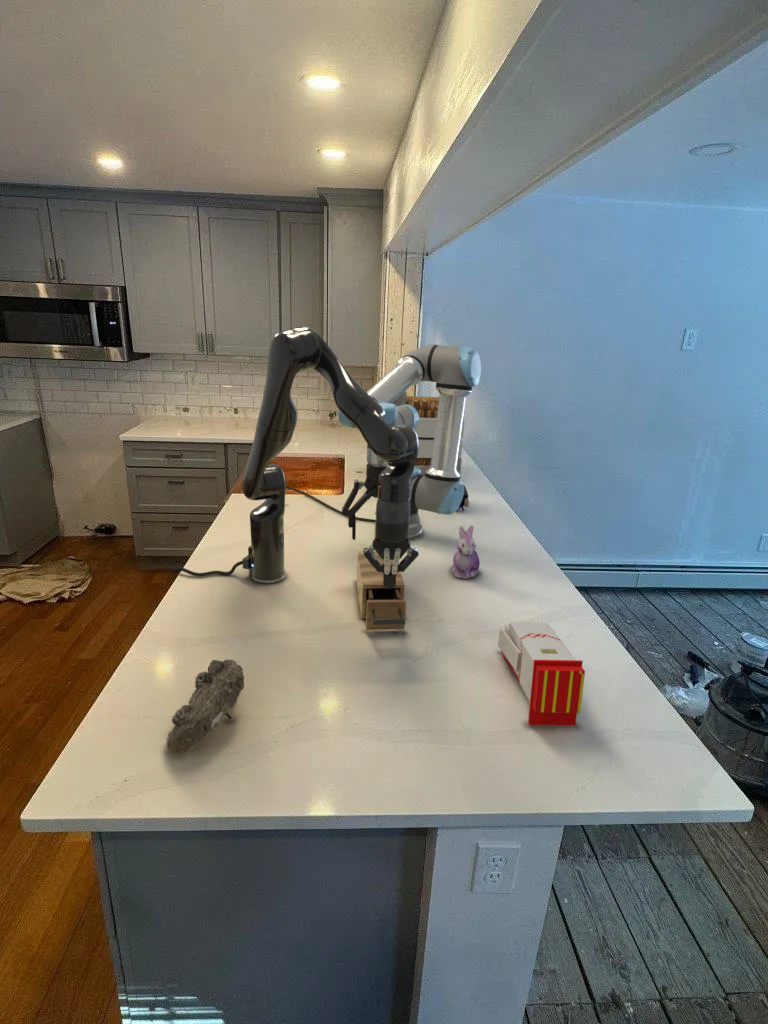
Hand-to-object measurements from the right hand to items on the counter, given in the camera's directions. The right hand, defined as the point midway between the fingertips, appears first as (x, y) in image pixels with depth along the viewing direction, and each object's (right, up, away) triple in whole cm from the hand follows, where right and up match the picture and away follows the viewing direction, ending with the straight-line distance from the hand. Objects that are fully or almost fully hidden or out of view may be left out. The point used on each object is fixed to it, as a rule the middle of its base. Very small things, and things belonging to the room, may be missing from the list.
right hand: (378, 537), depth 156 cm
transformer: (+19, +26, +119) cm, 123 cm away
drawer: (+1, -19, -12) cm, 23 cm away
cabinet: (0, -17, -2) cm, 17 cm away
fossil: (-31, -32, -48) cm, 66 cm away
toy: (+34, -30, -34) cm, 56 cm away
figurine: (+26, -12, +16) cm, 33 cm away
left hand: (+3, -10, -26) cm, 28 cm away
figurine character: (+32, +9, +74) cm, 81 cm away
